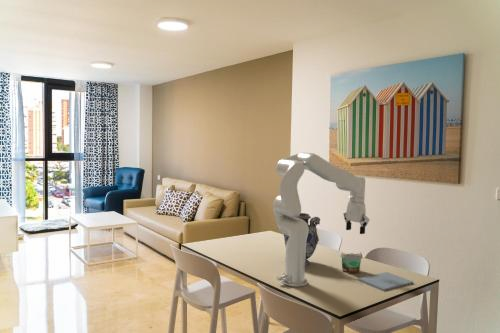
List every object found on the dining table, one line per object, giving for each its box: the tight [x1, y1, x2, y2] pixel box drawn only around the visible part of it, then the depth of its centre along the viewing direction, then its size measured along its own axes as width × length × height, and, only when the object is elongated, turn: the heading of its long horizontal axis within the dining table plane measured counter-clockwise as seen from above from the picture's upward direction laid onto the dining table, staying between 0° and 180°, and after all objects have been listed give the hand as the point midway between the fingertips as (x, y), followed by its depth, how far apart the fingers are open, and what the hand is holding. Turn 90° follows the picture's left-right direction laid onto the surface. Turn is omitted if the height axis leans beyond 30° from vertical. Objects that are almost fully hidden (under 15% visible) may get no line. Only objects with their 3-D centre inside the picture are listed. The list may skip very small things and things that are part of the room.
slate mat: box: [357, 271, 414, 292], centre depth 201 cm, size 22×16×1 cm
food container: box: [340, 251, 363, 275], centre depth 214 cm, size 12×6×10 cm, turn 105°
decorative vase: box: [283, 212, 321, 266], centre depth 228 cm, size 21×19×28 cm
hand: (355, 231), depth 213 cm, fingers open, 9 cm apart
